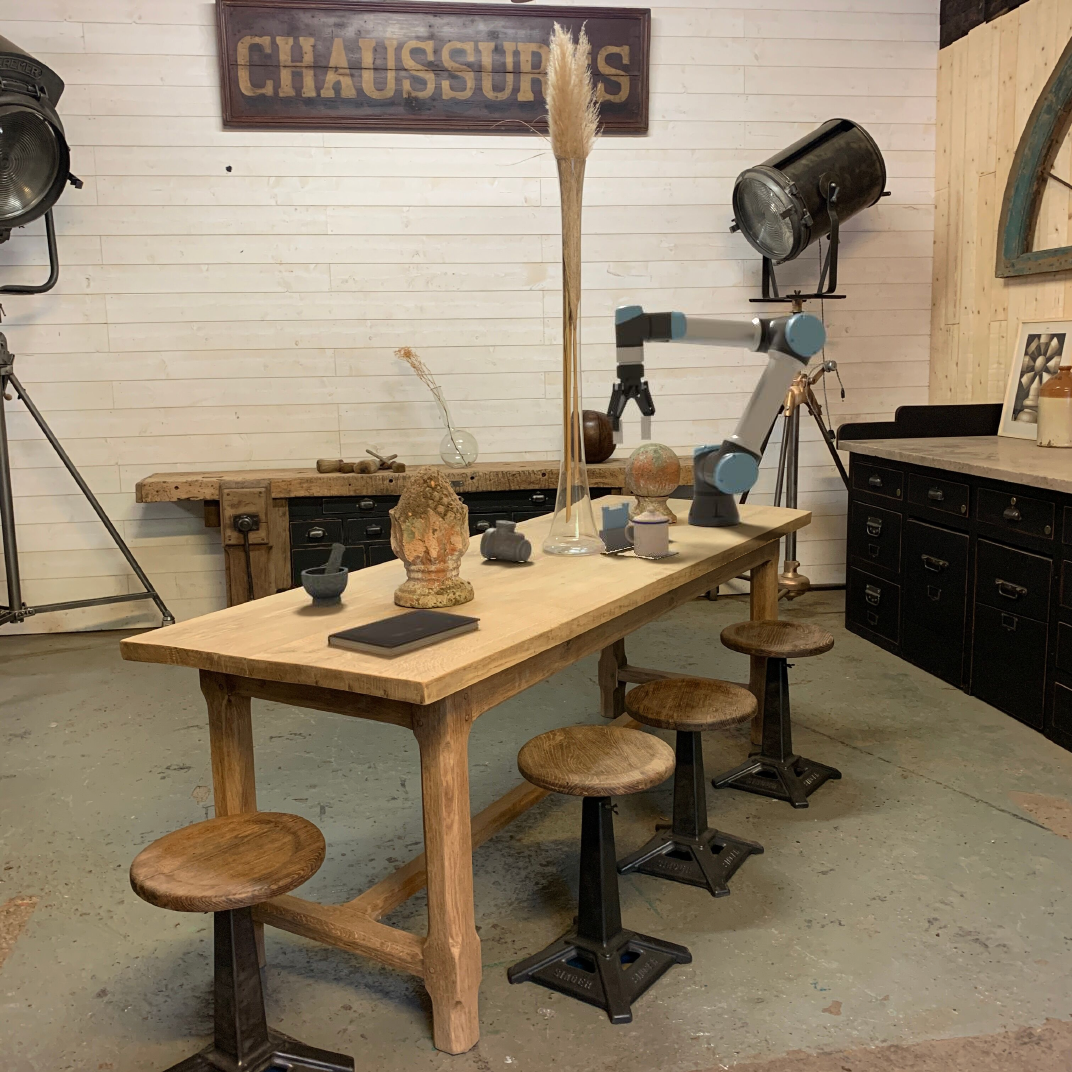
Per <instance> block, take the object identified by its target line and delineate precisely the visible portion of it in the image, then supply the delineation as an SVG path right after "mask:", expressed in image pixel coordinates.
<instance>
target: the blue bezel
mask: <svg viewBox="0 0 1072 1072" xmlns="http://www.w3.org/2000/svg"><path fill="white" fill-rule="evenodd" d="M629 507H630V502H628V501H627V502H626V501H624V502H621V506H620V507H615V508H610V506H609V505H608V506H607V505H605V506H601V512H602V513H601V514H602V517H601V518H602V530H605V531H606V530H610V529H615V528H619V527H623V526H627V525H629V524H630V520H629V519H630V518H629V517H630V514H629V510H630V508H629Z"/></svg>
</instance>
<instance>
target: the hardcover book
mask: <svg viewBox="0 0 1072 1072" xmlns="http://www.w3.org/2000/svg"><path fill="white" fill-rule="evenodd" d="M479 621H481V618H478V617H474V616H466V615H461V614H454V613H448V612H441V611H436V610H428V609H423V608H419V609H416V610H412V611H408V612H405V613H401V614H398V615H395V616H391V617H387V618H384V619H380V620H376V621H373V622H370V623H366V624H363V625H358V626H356V627H351V628H349V629H345V630H342V631H338V632H335V633H334V632H333V633H331V634H329V635H328V636H327V644H328V645H335V646H339V647H343V648H344V647H345V648H348V649H349V648H350V649H352V650H353V649H354V650H359V651H363V652H368V653H373V654H377V655H381V656H386V657H387V656H388V657H393V656H395V655H398V654H403V653H405V652H408V651H410V650H415V649H418V648H420V647H424V646H426V645H429V644H432V643H435V642H436V643H437V642H439V641H443V640H444V639H447V638H452V637H454V636H457V635H460V634H462V633H463V634H464V633H466V632H467V633H468V632H470V631H472V630H475V629H478V628H479V626H480V625H479Z"/></svg>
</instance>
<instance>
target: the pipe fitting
mask: <svg viewBox="0 0 1072 1072" xmlns="http://www.w3.org/2000/svg"><path fill="white" fill-rule="evenodd" d="M495 526H496V527H490V528H487V529H486V530H485V532H483V534H482V536H481V540H480V544H479V549H480V550H479V551H480V554H481V556H482V557H483V558H484V559H485V558H487V559H486V560H489V559H491V558H498V559H499V558H500V559H504V560H507V561H511V560H513V561H512V562H515V561H526V560H527V561H528V560H529V559H530V557H531V554H532V544H531V541H530V540H529V539H527V538H526V537H525V534H524V533H523V532H517V531H515V530H516V527H517V523H516V522H514V521H509V520H495ZM527 561H526V562H527Z"/></svg>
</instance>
